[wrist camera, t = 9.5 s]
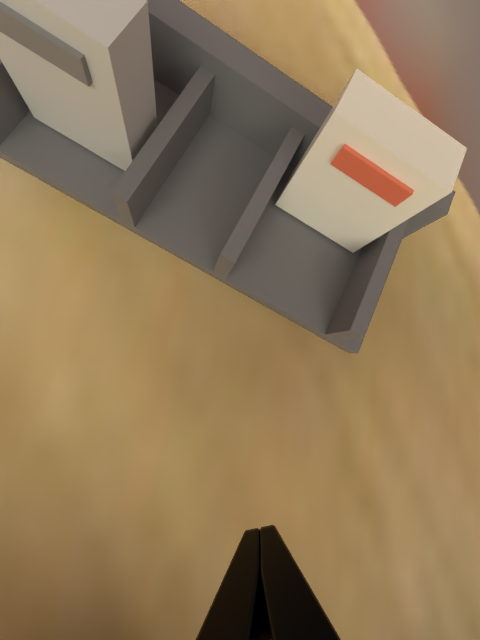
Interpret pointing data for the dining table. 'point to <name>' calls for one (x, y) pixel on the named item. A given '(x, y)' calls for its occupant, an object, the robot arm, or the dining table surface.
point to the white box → (84, 70)
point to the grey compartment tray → (220, 178)
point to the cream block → (370, 167)
